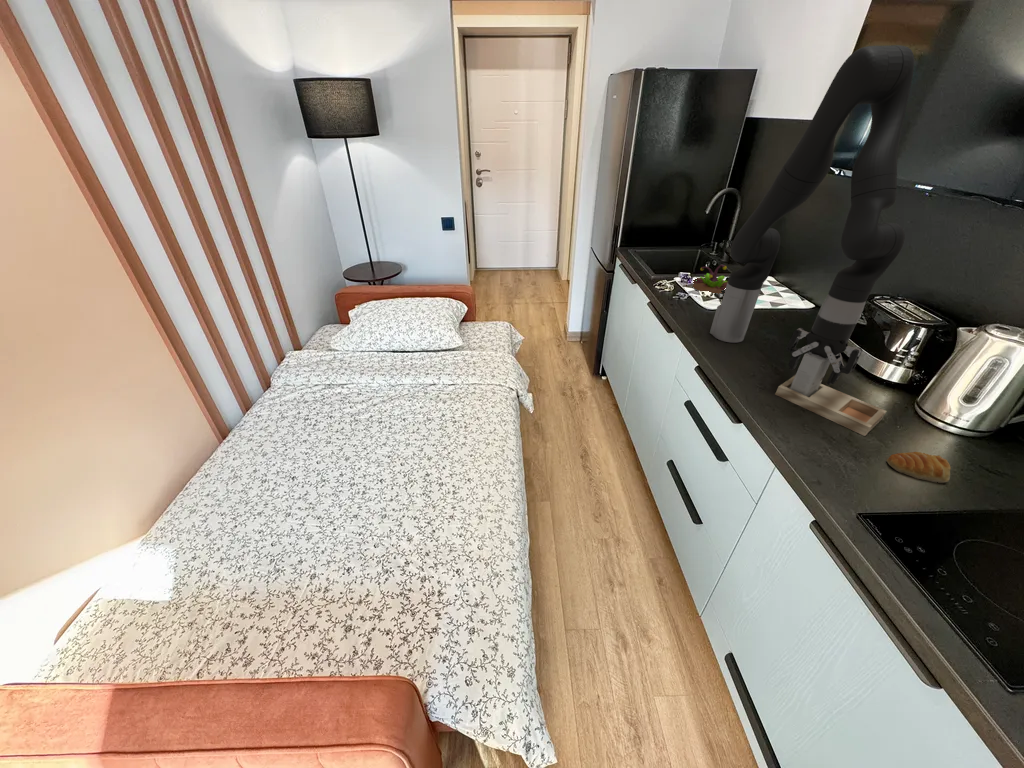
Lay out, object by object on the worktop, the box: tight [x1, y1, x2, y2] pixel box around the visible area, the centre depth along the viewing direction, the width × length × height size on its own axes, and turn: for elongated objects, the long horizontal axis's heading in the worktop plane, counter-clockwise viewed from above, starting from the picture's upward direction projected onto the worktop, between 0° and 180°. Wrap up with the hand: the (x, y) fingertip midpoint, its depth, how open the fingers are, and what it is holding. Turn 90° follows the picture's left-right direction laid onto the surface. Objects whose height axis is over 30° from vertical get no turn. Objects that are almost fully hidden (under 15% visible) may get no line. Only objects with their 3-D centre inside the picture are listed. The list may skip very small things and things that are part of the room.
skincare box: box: [790, 350, 831, 397], centre depth 104 cm, size 6×4×12 cm
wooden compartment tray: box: [774, 375, 888, 437], centre depth 103 cm, size 20×10×2 cm, turn 36°
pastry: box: [886, 451, 952, 484], centre depth 85 cm, size 9×7×4 cm
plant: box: [693, 264, 728, 294], centre depth 163 cm, size 20×20×11 cm
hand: (810, 376), depth 104 cm, fingers open, 8 cm apart
